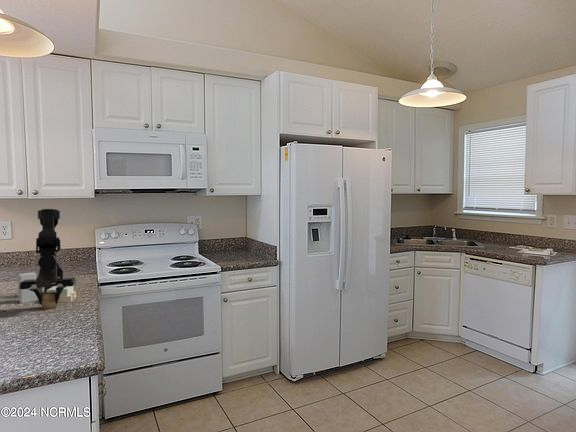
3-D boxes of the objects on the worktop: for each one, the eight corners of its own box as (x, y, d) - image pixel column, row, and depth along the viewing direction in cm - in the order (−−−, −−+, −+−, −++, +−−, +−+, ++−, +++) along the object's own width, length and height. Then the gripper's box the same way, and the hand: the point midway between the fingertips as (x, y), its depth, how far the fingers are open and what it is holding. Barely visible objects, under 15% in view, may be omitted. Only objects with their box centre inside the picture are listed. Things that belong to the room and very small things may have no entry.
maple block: (51, 299, 170) (51, 292, 170) (76, 297, 173) (76, 291, 173) (44, 305, 161) (44, 298, 161) (70, 303, 164) (70, 296, 164)
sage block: (53, 292, 170) (53, 286, 170) (73, 291, 172) (73, 285, 172) (46, 297, 162) (46, 290, 162) (67, 296, 164) (67, 289, 164)
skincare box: (34, 298, 169) (33, 272, 168) (37, 300, 166) (36, 273, 166) (17, 301, 164) (17, 274, 164) (21, 303, 161) (20, 275, 161)
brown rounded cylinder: (44, 306, 156) (43, 292, 156) (58, 305, 158) (57, 291, 157) (40, 310, 151) (39, 295, 151) (54, 308, 153) (54, 294, 153)
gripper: (13, 270, 143) (14, 311, 144) (69, 267, 149) (70, 307, 150) (24, 265, 154) (25, 304, 155) (75, 263, 160) (76, 300, 160)
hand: (49, 304), depth 154 cm, fingers closed on brown rounded cylinder, 5 cm apart
